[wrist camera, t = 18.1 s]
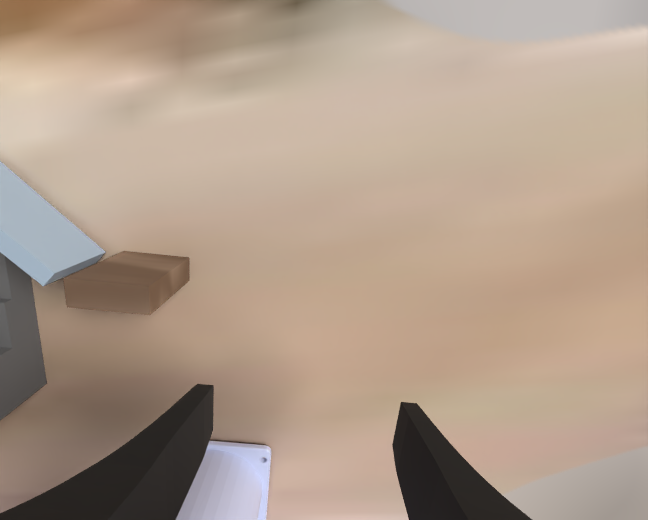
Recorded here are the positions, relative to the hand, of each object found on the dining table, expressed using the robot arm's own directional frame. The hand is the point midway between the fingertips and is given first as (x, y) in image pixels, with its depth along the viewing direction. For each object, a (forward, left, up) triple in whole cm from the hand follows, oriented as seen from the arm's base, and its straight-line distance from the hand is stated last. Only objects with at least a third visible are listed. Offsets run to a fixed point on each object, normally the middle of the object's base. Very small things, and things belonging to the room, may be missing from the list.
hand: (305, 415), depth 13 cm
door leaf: (+6, +17, -9) cm, 20 cm away
